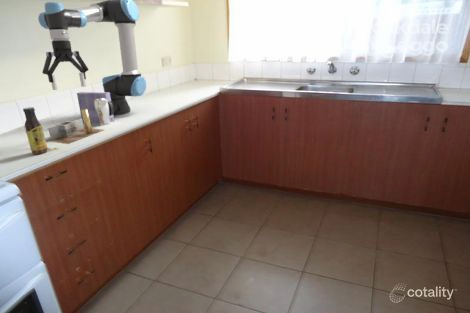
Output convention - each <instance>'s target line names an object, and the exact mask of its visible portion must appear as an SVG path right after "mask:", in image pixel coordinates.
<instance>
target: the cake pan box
mask: <svg viewBox="0 0 470 313" xmlns="http://www.w3.org/2000/svg"><path fill="white" fill-rule="evenodd" d="M76 96H77V100H78V102H77V103H78V107H79V113H80V119H82V121H83V124H84V120H83V116H82V111H81V110H83V109H87V110H88V114H89V118H90V123H92V122H93V123H100V121H99V118H98V115H97V113H96V110H95V105H94V99H98V98H107V101H108V105H109V118H110V122H111V123H115V117H114V116H115V115H113V114H114V106H113V104H112V102H111V97H110V92H104V91H81V92H80V91H79V92H77V93H76Z"/></svg>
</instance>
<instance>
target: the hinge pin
mask: <svg viewBox="0 0 470 313" xmlns="http://www.w3.org/2000/svg"><path fill="white" fill-rule="evenodd" d="M81 111H82V116H83V120H84V123H83V125H84V128H86V133H87V134H92V133H93V131H92V128H93V127H92V122H90V118H89V114H88V110H87V109H83V110H81Z"/></svg>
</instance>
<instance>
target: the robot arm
mask: <svg viewBox="0 0 470 313" xmlns="http://www.w3.org/2000/svg"><path fill="white" fill-rule="evenodd" d="M139 17H140V11H139V8H138V6H137V4H136V3H135V2H134V0H103V1H100V2H96V3H92V4H90V5H89V6H83V7H74V8H65V6H64V4H63V3H62V2H58V1H47V2H45V3H44V11H43V12H41V13H39V15H38V23H39V24H40V26H41V27H42V28H44V29H46V30H49V36H50V37H49V38H50V40H52V41H51V45H52V50H53V51H46V52H45V55H46V56H45V57H46V58H45V62H44V66H43V69H42V74H43V75H47V78H48V82H49V84H50V83H51V89H52V91H58V87H57V82H56V78H55V77H56V76H55V74H54V72H55V71H56V69H57V67H58V65H59V64H60V63H65V62H69V63H71V65H73V66H74V67H75V68H76V69H77V70H78V71H79V73H78V75H79V76H78V77H79V81H80V86H81V87H83V88H84V87H86V79H87V76H86V73H87V72H88V71H89V68H88V66H87V65H86V63H85V62H84V60H83V59H82V57H81V55H80V52H79V50H76V51H75V50H74V51H72V44H71V41H70V40H69V39H70V34H69V28H77V29H79V28H85V27H86V26H87V24H88V23H91V22H92V23H93V22H94V23H114V26H116V27H117V32H118V42H119V48H120V56H121V66H122V72H121V73H119V74H113V75H108V76H104V77H102V80H101V81H102V88H103V92H110V97H111V102H112V104H113V106H114V114H113V116H119V115H125V114H127V113H130V112H131V111H132V110H131V106H130V105H129V103H128V101H127V99H126V98H127V97H141V96H142V95H144V93H145V92H146V90H147V81H146V80H145V79H146V78H145V77H143V76H142V73H141V71H139V68H138V58H137V50H136V40H135V30H134V28H135V26H136V25H137V24H136V22H137V21H138V20H139ZM73 56H74V57H75V59H74V58H73ZM53 57H54V58H55V59H54V61H53V62H52V58H53ZM76 60H77V61H76ZM51 63H52V64H51Z"/></svg>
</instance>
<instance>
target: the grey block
mask: <svg viewBox="0 0 470 313" xmlns="http://www.w3.org/2000/svg"><path fill="white" fill-rule="evenodd" d="M59 125H61V129H64V130H66V129H69V128H72V127H75V126H77V130H74V131H71V132H68V133H63V137H67V138H68V137H71V136H73V135H76V134H79V133H78V131H80V130H83V129H84V128H85V125H84V123H83V121H82V118H78V119H74V120H70V121H69V120H66V121H62V122H59V123H56V124H55V127H56V126H59Z"/></svg>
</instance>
